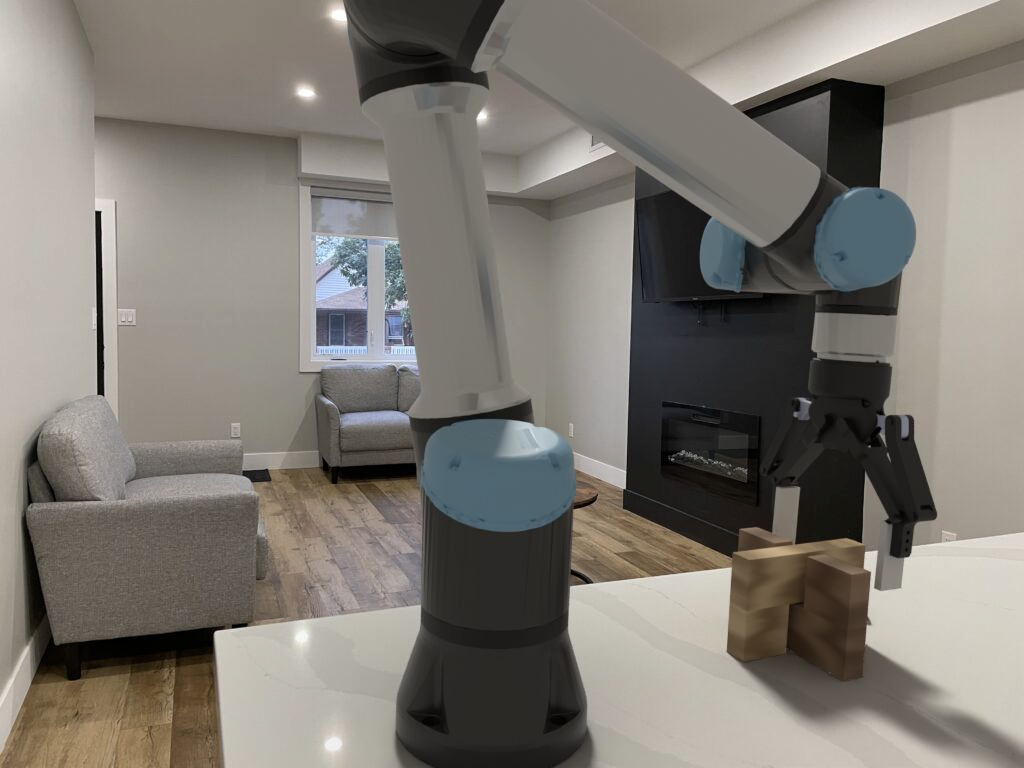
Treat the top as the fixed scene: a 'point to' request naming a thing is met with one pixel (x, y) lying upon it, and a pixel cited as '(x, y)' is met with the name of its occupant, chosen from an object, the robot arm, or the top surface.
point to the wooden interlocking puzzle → (773, 593)
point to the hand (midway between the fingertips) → (831, 565)
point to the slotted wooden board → (824, 609)
